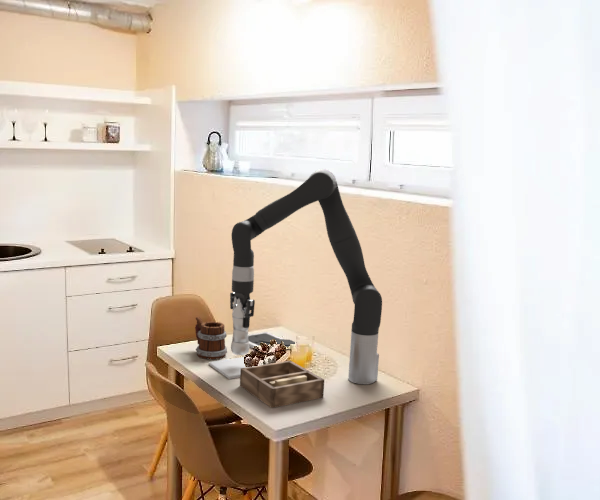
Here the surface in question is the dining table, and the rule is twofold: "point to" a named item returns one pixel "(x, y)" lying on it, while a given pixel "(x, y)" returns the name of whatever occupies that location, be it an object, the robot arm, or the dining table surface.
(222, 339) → the mug
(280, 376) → the walnut divided box
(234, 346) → the plastic bottle
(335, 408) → the dining table surface
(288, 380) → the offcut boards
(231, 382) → the dining table surface
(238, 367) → the grey plate
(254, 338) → the picture frame
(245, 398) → the dining table surface
